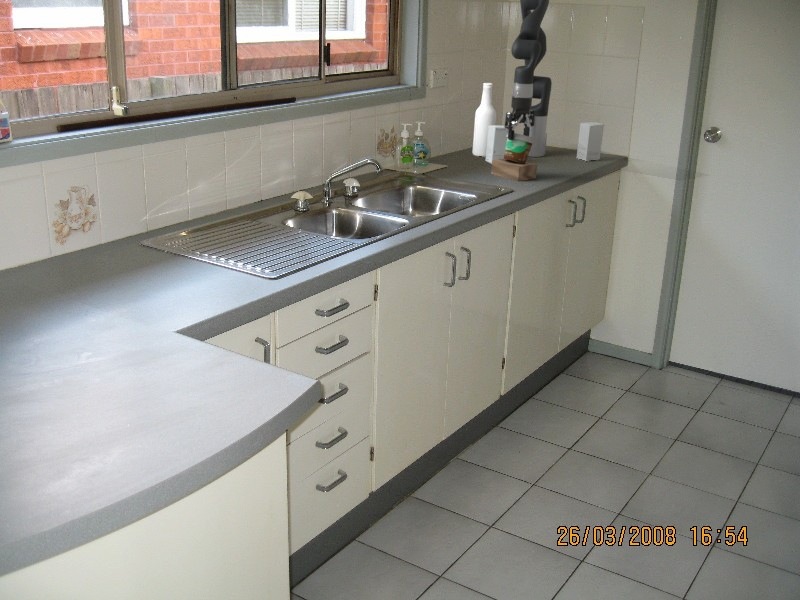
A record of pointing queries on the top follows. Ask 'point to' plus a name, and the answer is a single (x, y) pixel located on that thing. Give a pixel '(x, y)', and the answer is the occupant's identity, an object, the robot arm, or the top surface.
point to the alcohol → (483, 121)
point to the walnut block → (514, 169)
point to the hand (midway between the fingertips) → (518, 138)
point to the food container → (518, 148)
